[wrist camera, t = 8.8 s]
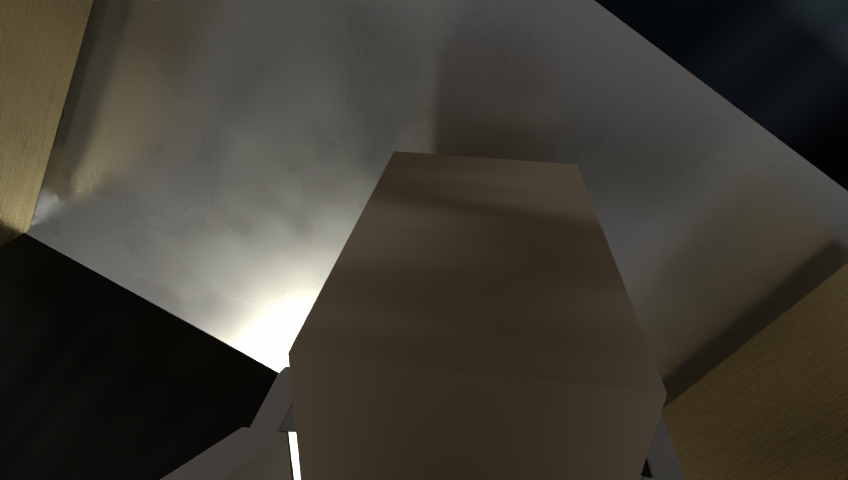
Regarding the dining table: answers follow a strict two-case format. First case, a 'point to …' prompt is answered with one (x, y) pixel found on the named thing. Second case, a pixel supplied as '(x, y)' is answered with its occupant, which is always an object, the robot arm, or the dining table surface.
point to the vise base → (460, 136)
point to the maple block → (474, 335)
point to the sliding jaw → (33, 96)
